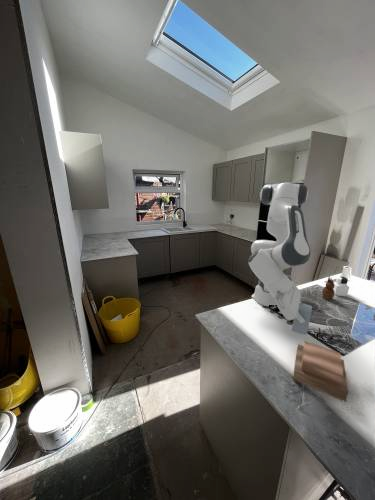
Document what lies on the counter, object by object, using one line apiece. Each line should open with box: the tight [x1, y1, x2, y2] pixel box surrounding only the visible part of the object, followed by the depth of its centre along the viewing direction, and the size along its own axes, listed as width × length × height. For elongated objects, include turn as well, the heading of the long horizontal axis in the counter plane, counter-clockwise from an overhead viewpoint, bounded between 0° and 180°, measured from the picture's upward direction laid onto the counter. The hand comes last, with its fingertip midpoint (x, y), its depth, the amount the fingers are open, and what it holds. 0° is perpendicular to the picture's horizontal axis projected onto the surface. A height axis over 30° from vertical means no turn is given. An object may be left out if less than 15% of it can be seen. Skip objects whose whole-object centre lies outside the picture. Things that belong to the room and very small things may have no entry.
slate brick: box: [291, 302, 313, 336], centre depth 77 cm, size 5×5×10 cm
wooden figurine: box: [321, 276, 335, 301], centre depth 132 cm, size 7×6×15 cm
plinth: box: [292, 340, 349, 402], centre depth 78 cm, size 16×16×8 cm
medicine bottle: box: [333, 275, 350, 297], centre depth 138 cm, size 7×7×12 cm
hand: (303, 317), depth 77 cm, fingers closed on slate brick, 5 cm apart
